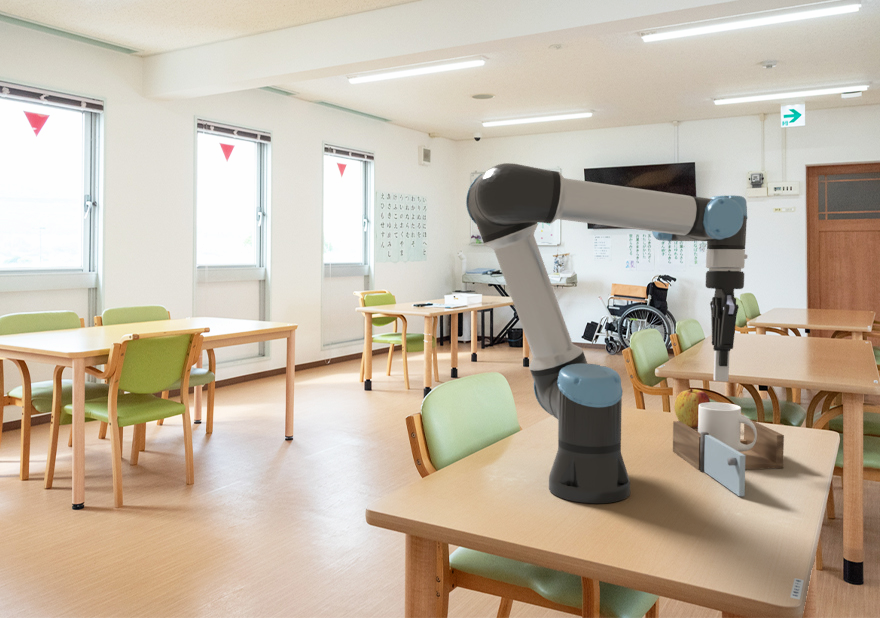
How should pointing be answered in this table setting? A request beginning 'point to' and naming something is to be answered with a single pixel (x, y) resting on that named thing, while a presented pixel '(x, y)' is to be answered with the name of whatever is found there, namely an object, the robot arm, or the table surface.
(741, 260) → the robot arm
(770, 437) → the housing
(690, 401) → the apple
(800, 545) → the table surface
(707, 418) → the mug
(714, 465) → the door
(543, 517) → the table surface
